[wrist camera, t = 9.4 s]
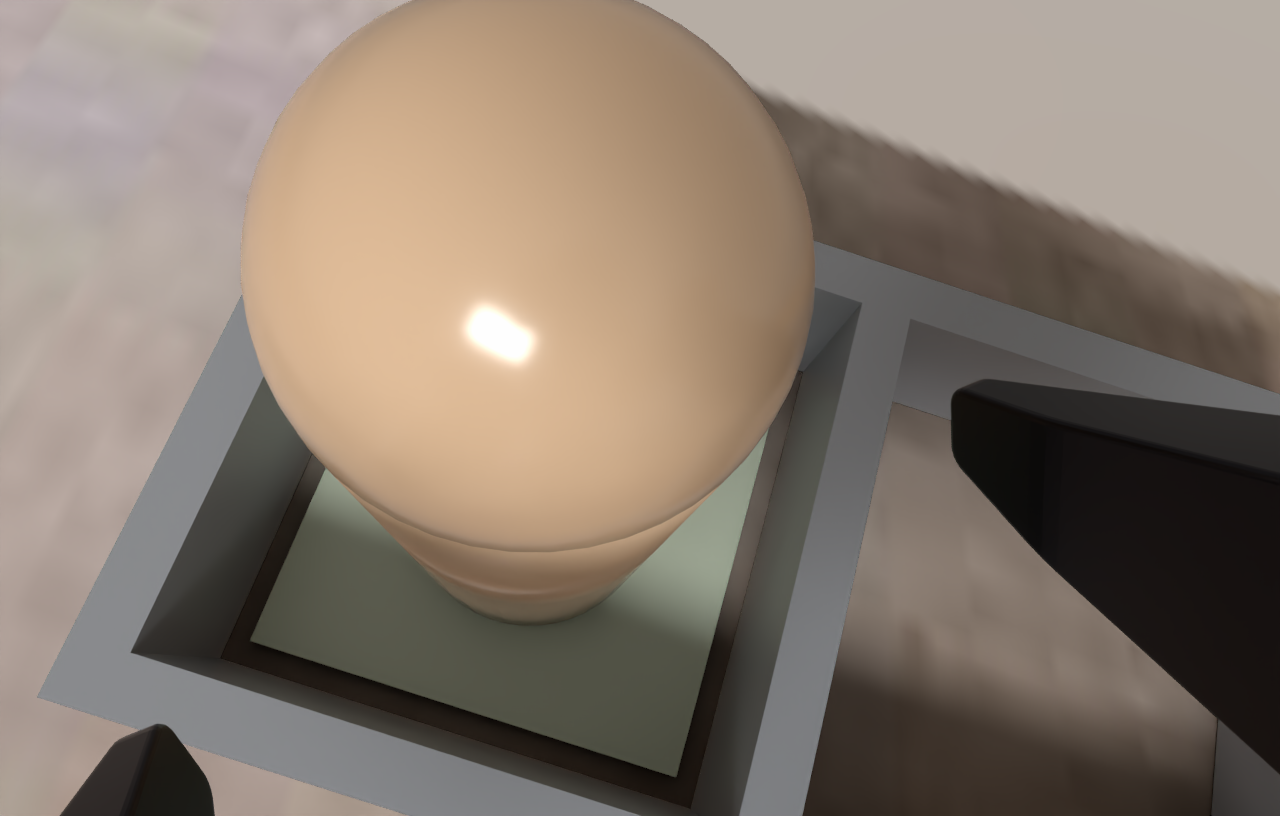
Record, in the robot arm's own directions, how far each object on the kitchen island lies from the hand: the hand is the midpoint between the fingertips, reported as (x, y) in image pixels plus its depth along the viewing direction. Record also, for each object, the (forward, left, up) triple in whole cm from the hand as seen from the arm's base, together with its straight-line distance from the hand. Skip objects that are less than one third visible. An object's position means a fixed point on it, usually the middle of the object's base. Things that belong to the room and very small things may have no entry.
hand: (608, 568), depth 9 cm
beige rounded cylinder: (+2, +2, -9) cm, 10 cm away
